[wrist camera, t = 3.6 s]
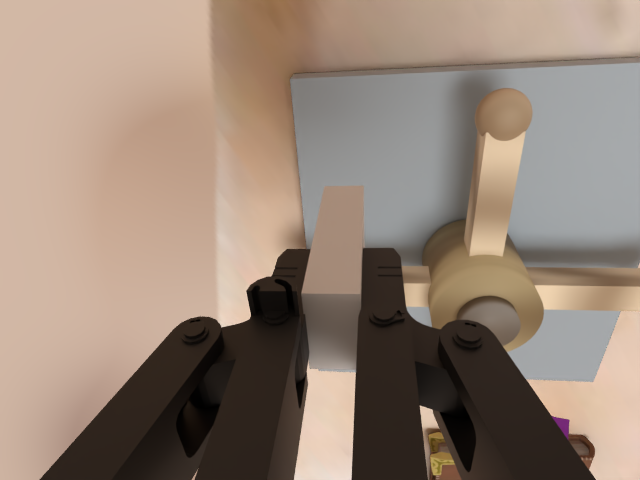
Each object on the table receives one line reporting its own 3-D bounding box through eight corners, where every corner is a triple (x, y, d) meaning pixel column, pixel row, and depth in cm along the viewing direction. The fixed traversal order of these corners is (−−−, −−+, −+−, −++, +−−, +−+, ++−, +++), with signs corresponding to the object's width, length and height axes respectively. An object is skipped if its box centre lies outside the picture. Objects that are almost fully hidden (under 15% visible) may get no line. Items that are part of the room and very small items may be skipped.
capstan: (275, 84, 25) (244, 119, 19) (738, 63, 22) (868, 97, 16) (308, 371, 37) (296, 445, 31) (606, 383, 34) (653, 467, 28)
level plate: (288, 73, 26) (280, 83, 24) (699, 54, 23) (733, 63, 21) (316, 357, 39) (312, 380, 36) (585, 367, 36) (599, 393, 34)
